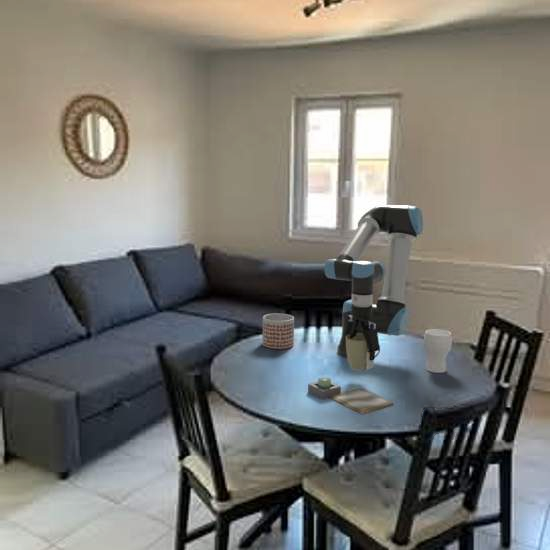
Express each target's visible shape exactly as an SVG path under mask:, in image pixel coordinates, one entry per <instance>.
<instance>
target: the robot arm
mask: <svg viewBox="0 0 550 550" xmlns="http://www.w3.org/2000/svg"><path fill="white" fill-rule="evenodd" d="M423 218H424V217H423V212H422V210H421V208H420V207H418V206H417V205H416V206H415V205H410V204H409V205H404V204H403V205H399V204H398V205H397V204H396V205H395V204H381V205H378V206H375V207H373V208H371V209H370V210H368V211H367V212H366V213H365V214H363V215H362V216H361V217H360V219H359V220H358V222H357V228H356V229H355V230H354V233H352V235H351V236H350V238H349V239H348V241H347V243H346V244H345V246H344V247H343V248H342V250H341V251H340V252H339V254H338V256H337V257H336V258H330V259H327V260H326V262H325V265H324V275H325V276H326V278H328V279H332V280H337V281H339V280H340V281H349V282H351V299H348V300H346V301H344V302H343V306H342V318H341V319H342V327H341V330H342V332H341V337H340V339H339V343H338V345H337V348H336V349H337V351H336V353H337V354H338V355H339V356H341V357H344V358H347V359H348V357H347V352H346V335H348V334H350V339H352V338H353V337H355V336H356V334H357V333H361V334H364V337H365V340H366V343H367V347H368V350H369V351H367V363H366V365H365V368H366V370H370V369H373V368H374V361H375V360H376V359H375V358H376V357H375V355H376V352H378V351H379V350H380V351H381V346H380V347H379V345H380V343H379V342H380V341H379V335H378V334H381V335H382V334H383V335H388V336H397V337H398V336H401V335H402V334H404V332H405V330H406V329H407V326H408V322H409V318H410V316H409V315H410V311H409V308H407V307H406V302H405V300H404V293H405V288H406V281H407V275H408V270H409V269H408V268H409V263H410V255H411V251H412V244H413V242H415V241H416V240H417V236H420V235H422V234H423V231H424V230H423V228H424V219H423ZM379 233H387V236H388V237H387V238H389V240H390V242H389V250H388V255H387V261H386V267H385V265H384V264H383V263H382V262H381V261H377V260H376V261H367V260H360V259H361V257H362V256H363V254H364V252H365V251H366V249H367V248H368V246H369V245H370V243H371V241H372V240H373V238H374V237H376V236H378V235H379ZM382 280H383V286H382V291H381V296H380V297H378V298H377V300H376V303H374V285H375V284H377V283H379V282H380V281H382Z"/></svg>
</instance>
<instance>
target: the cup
mask: <svg viewBox="0 0 550 550" xmlns="http://www.w3.org/2000/svg"><path fill="white" fill-rule="evenodd" d="M424 332H425V333H424V336H423V342H422V343H423V346H424V347H423V348H424V350H425V353H426V356H427V357H426V358H427V361H426V365H425V370H426V371H428V372H429V373H430V372H431V373H439V374H440V373H441V374H442V373H445V372H446V371H447V364H446V360H447V356H448V354H449V353H450V351H451V348H452V345H453V336H452V333H451V332H450V331H448V330H444V329H438V328H437V329H436V328H432V329H426V331H424Z"/></svg>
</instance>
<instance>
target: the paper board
mask: <svg viewBox="0 0 550 550" xmlns="http://www.w3.org/2000/svg"><path fill="white" fill-rule="evenodd" d="M328 399H331V400H333V401H334V402H337V403H338V404H340V405H342V406H345V408H349V409H350V410H352V411H354V412H356V413H357V414H360V415H365V414H368V413H373V412H374V411H378V410H381V409H384V408H387V407H390V406H393V405H394V402H392V401H390V400H388V399H385V398H383V397H381V396H379V395H377V394H375V393H373V392H371V391H368V390H366V389H364V388H361V387H357V388H355V389H350V390H346V391H343V392H341V393H339V394H335V395H332V396H329V398H328Z"/></svg>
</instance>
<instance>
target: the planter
mask: <svg viewBox="0 0 550 550" xmlns="http://www.w3.org/2000/svg"><path fill="white" fill-rule="evenodd" d="M294 335H295V317H294V316H293V315H291V314H287V313H268V314H265V315H263V316H262V345H263V347H264V346H265V347H264V348H266V347H267V348H266V349H269V348H270V349H271V350H277V349H278V350H281V351H282V350H287V349H291V348H293V346H294V344H295V342H294V340H295V338H294V337H295V336H294Z"/></svg>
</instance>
